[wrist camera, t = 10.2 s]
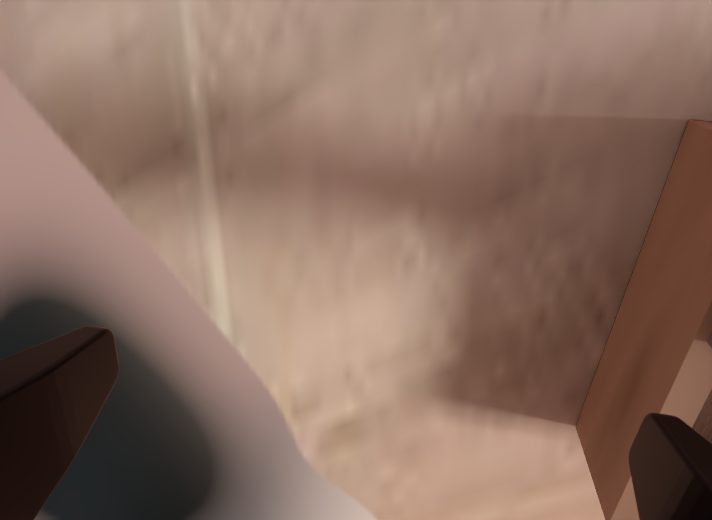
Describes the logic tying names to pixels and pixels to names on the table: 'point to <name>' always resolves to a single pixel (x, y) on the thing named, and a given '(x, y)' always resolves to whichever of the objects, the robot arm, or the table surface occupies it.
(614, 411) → the hitch block
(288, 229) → the table surface
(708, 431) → the brass bolt
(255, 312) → the table surface
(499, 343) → the table surface
